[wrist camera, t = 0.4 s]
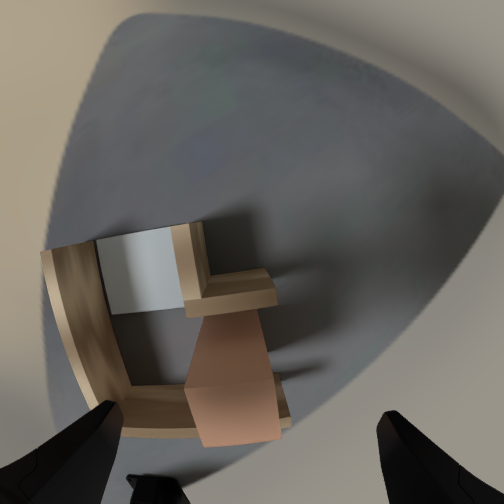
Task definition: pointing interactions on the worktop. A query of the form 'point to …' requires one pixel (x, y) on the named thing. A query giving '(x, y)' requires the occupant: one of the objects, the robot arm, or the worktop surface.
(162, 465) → the worktop surface
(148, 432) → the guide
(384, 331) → the worktop surface
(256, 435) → the peg
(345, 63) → the worktop surface
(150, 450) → the worktop surface
